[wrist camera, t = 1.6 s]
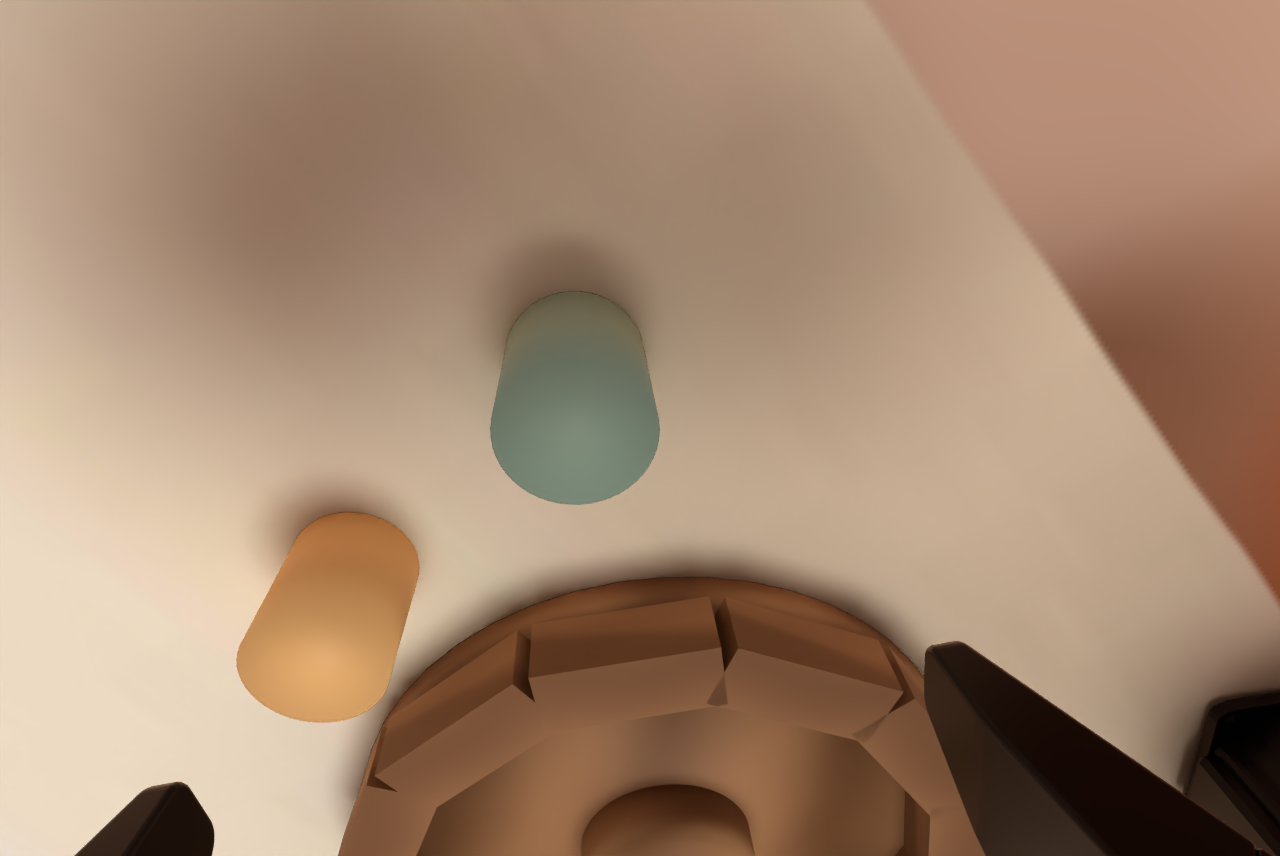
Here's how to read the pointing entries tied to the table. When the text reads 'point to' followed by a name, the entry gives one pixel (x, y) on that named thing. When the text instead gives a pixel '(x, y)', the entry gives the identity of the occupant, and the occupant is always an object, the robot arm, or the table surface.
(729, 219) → the table surface
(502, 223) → the table surface
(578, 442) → the bead
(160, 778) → the table surface
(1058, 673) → the table surface
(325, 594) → the bead
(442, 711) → the groove tray
